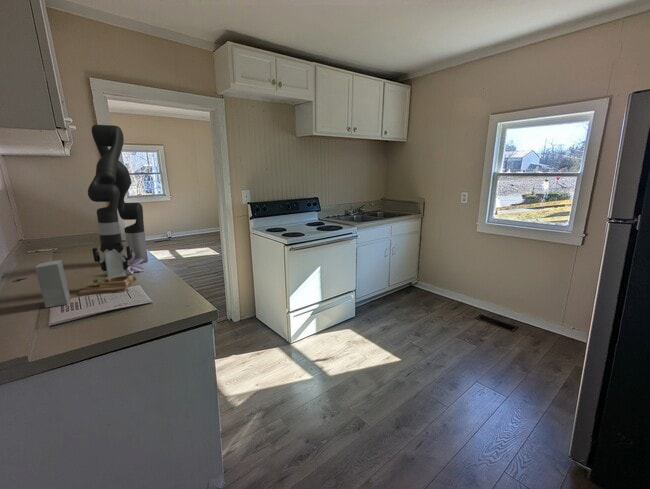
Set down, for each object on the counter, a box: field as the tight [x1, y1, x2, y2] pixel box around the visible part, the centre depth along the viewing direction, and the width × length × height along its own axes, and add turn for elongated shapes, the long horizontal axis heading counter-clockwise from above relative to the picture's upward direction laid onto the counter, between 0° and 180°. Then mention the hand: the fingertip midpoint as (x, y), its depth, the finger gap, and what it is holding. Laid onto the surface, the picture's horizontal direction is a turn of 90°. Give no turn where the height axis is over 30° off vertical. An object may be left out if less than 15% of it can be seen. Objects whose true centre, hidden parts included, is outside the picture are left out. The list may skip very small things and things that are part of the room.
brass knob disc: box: [87, 278, 102, 287], centre depth 130 cm, size 5×5×2 cm
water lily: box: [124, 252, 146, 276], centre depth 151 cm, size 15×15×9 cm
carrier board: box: [78, 274, 137, 296], centre depth 131 cm, size 16×16×3 cm
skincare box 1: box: [34, 259, 71, 308], centre depth 113 cm, size 8×7×16 cm
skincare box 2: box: [103, 250, 125, 279], centre depth 130 cm, size 6×4×12 cm
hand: (115, 270), depth 131 cm, fingers closed on skincare box 2, 7 cm apart
